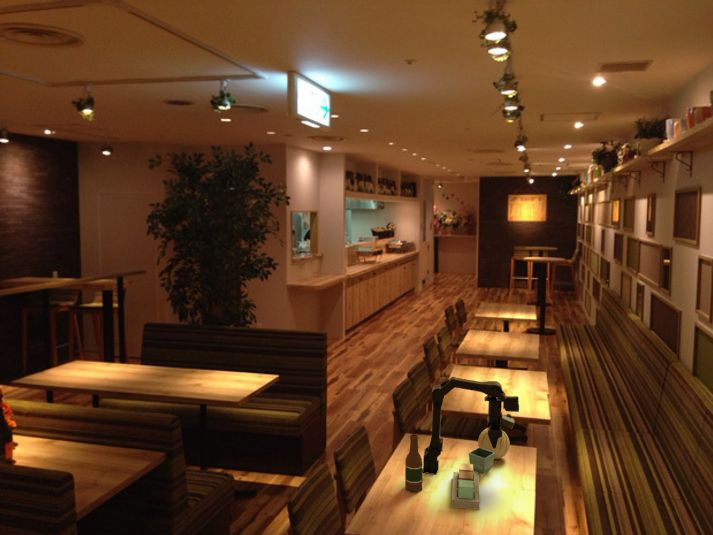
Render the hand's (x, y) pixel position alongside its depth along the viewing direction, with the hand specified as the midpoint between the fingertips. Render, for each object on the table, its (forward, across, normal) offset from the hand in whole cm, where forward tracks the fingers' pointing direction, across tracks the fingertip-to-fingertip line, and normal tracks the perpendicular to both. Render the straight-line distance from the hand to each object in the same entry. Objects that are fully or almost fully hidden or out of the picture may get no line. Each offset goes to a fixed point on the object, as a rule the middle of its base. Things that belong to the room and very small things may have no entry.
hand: (494, 444), depth 282 cm
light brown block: (+12, -11, +12) cm, 20 cm away
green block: (+12, -27, +12) cm, 32 cm away
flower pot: (+15, +3, +5) cm, 16 cm away
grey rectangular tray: (+15, -19, +12) cm, 27 cm away
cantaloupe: (+15, +19, -1) cm, 24 cm away
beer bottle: (+15, -19, +34) cm, 42 cm away
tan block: (+12, -19, +12) cm, 25 cm away
